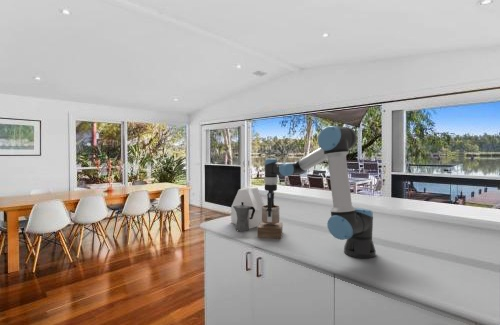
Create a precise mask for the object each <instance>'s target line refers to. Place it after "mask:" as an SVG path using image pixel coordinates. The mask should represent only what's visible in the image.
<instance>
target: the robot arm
mask: <svg viewBox="0 0 500 325" xmlns="http://www.w3.org/2000/svg"><path fill="white" fill-rule="evenodd" d="M357 138H358V137H357V134H356V132H355V131H354V129H352V128H351V127H348V126H347V127H346V126H339V125H338V126H336V125H331V126H326V127H323V128H322V129H321V130H320V132H319V133H318V137H317V144H318V146H319V147H318V148H317V149H315V150H313V151H312V152H310V153H308V154H307V155H305V156H303V157H302V158H300V159H298V160H297V161H292V162H290V161H289V162H278V159H277V158H266V159H265V160H264V178H263V180H264V191H266V192H267V194H266V199H267V204H266V205H267V210H266V211H267V222H272V205H275V200H274V199H275V192H276V191H277V190H278V185H277V184H278V176H284V177H290V176H293V175H294V176H295V175H303V174H306V173H307V171H308V170H309V169H312V168H313V167H315V166H317V165H318V164H321V163H323V162H325V161H326V160H327V162H328V163H327V164H328V172H329V180H330V181H329V182H330V189H331V199H332V205H333V207H332V208H331V209H330V217H329V219H328V220H327V229H328V232H329V233H330V235H332V236H333V238H334V239H338V240H341V241H343V240H345V241H346V242H345V243H344V247H343V252H344V254H345V255H347V256H350V257H353V258H358V259H372V258H374V257H376V255H377V254H376V248H375V244H374V242H373V228H374V227H373V225H374V215H373V211H372V210H371V209H368V208H363V207H362V208H361V207H356V206H355V207H354V206H353V202H352V196H351V195H352V194H351V188H350V179H349V171H348V170H349V169H348V162H347V155H348V154H349V151H350V150H351V149H352V148H354V147H355V145H356V144H357V142H358V141H357V140H358V139H357Z"/></svg>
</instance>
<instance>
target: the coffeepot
mask: <svg viewBox="0 0 500 325" xmlns="http://www.w3.org/2000/svg"><path fill="white" fill-rule="evenodd" d="M243 203H244V202H241V204H242V205H239V206H233V207H234V209H235V210H236V214H237V224H235V230H236V231H237V230H238V231H237V232H248V231H249V230H250V228H249V226H248V219H247V217H248V212H249V210H250V209H252V210H253V211H252V214H251V218H249V219H252V218H253V215H254V213H255V208H254V207H251V206H246V205H243Z"/></svg>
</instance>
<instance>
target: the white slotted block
mask: <svg viewBox="0 0 500 325" xmlns="http://www.w3.org/2000/svg"><path fill="white" fill-rule="evenodd" d="M241 202H244V203H243V205H246V206H251V207H254V208H255V213H254V215H253V218H252V219H249V218H251V214H252V211H253V210H252V209H250V210H249V212H248V217H247V219H248V226H249V229H252V228H258V226H259V224H260V222H262V206H264V205H265V203H264V201H263V198H262V196H261V193H260V190H259V188H258V187H255V186H254V187H249V188H240V189H238V190H237V193H236V195H235V197H234V199H233V202H232V204H231V207H230V211H231V212H230V217H231V218H230V219H231V221H230V223H231V224H233V225H234V224H235V225H236V224H237V214H236V210H235V209H234V207H233V206H239V205H242V204H241Z"/></svg>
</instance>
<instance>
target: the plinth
mask: <svg viewBox="0 0 500 325" xmlns="http://www.w3.org/2000/svg"><path fill="white" fill-rule="evenodd" d="M282 236H283V222H280V221H279V222H278V223H276V224H266V223H263V222H260V224H259V226H257V238H260V239H261V238H265V239H278V240H279V239H282Z"/></svg>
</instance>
